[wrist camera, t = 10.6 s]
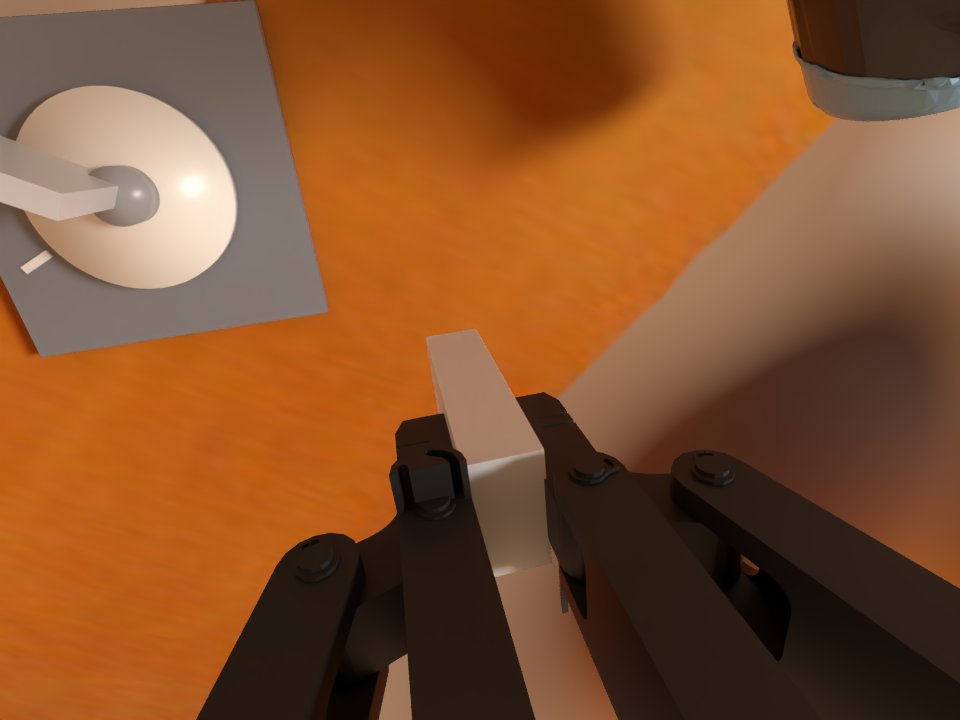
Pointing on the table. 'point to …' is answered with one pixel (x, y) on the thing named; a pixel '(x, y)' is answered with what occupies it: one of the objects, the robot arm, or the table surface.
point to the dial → (121, 186)
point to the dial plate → (229, 123)
